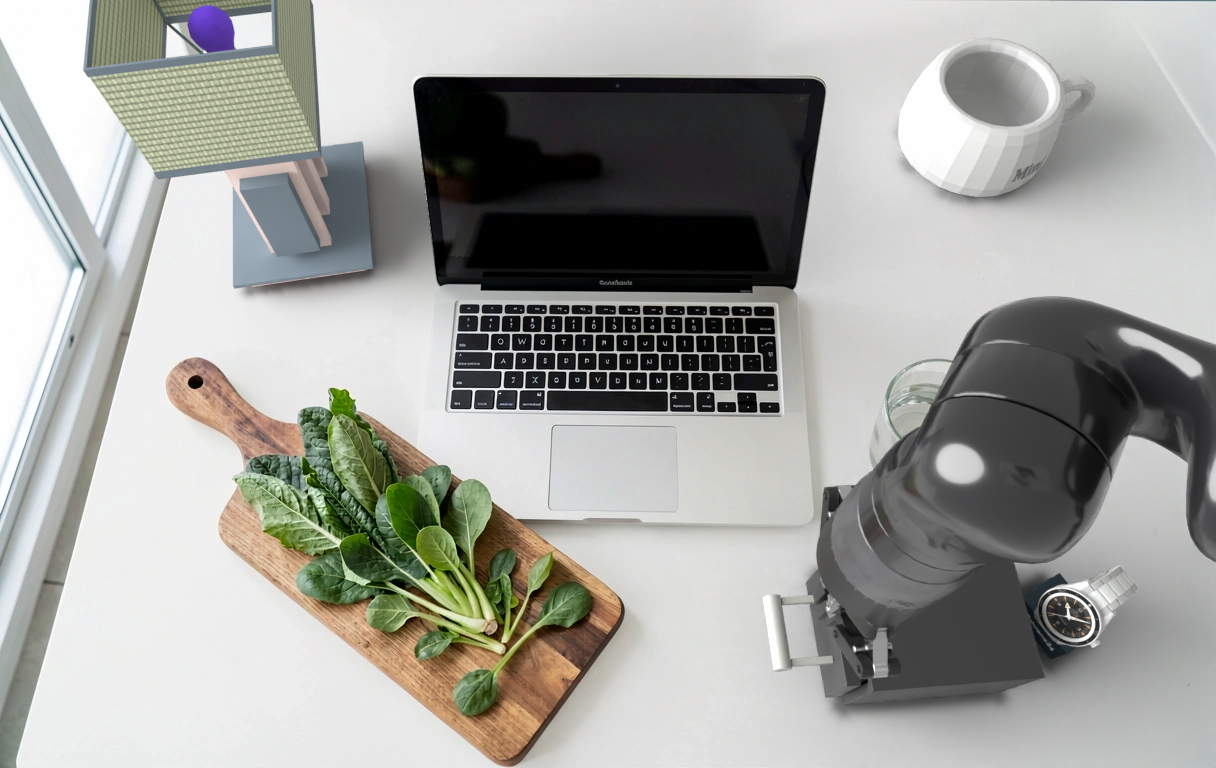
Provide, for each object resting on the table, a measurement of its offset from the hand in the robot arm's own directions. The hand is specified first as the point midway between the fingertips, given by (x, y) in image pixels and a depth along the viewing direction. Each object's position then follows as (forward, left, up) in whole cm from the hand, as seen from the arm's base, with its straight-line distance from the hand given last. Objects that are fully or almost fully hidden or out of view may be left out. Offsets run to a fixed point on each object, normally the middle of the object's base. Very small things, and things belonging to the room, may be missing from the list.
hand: (828, 606), depth 66 cm
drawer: (-6, 0, -14) cm, 15 cm away
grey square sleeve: (-11, 0, -15) cm, 18 cm away
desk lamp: (+45, -48, -15) cm, 68 cm away
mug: (-32, -54, -15) cm, 64 cm away
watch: (-23, 0, -15) cm, 28 cm away
